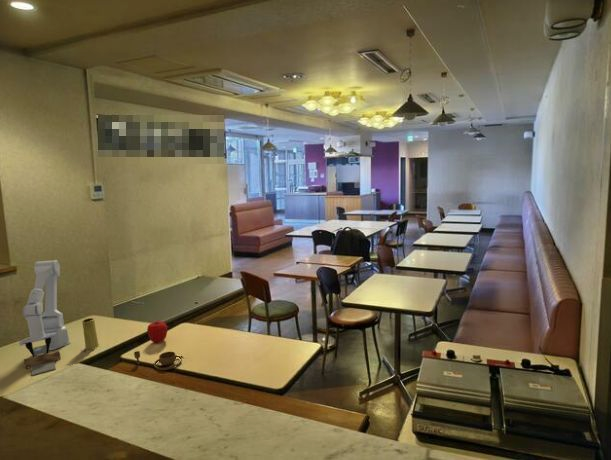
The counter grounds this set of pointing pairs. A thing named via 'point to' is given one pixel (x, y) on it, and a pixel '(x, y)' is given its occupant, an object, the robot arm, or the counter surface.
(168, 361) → the place setting
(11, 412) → the counter surface
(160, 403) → the counter surface
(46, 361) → the walnut screen
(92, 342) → the vase
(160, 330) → the apple
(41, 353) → the slate cube
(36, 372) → the mat
